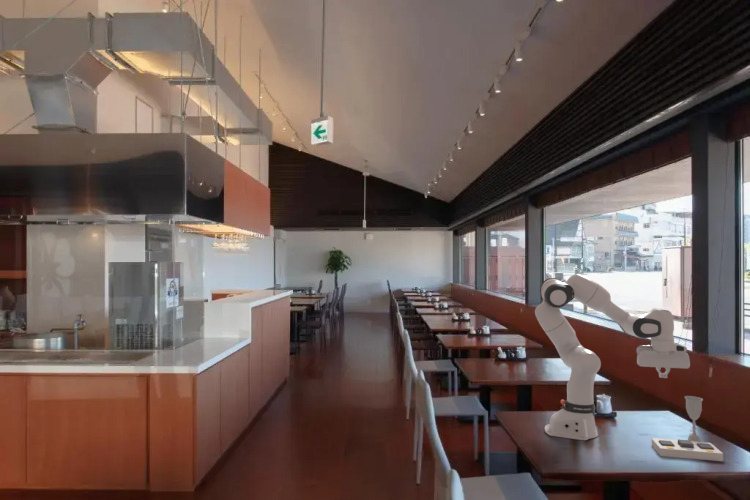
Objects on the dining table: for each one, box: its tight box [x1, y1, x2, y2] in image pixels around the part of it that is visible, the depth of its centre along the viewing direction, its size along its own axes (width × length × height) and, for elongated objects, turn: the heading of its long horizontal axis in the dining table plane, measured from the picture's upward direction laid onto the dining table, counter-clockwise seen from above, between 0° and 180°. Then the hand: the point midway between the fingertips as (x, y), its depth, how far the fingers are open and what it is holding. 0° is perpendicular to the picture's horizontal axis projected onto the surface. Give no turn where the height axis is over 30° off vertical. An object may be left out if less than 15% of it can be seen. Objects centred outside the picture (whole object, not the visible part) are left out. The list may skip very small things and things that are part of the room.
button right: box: [697, 443, 714, 450], centre depth 200 cm, size 4×4×2 cm
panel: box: [651, 437, 724, 462], centre depth 202 cm, size 22×12×3 cm, turn 76°
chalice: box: [684, 395, 704, 442], centre depth 217 cm, size 7×7×18 cm
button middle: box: [677, 438, 694, 448], centre depth 202 cm, size 4×4×2 cm
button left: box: [659, 440, 674, 446], centre depth 204 cm, size 4×4×2 cm
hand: (663, 377), depth 217 cm, fingers closed
